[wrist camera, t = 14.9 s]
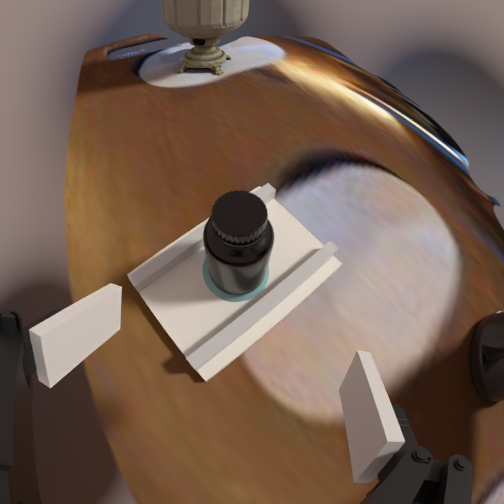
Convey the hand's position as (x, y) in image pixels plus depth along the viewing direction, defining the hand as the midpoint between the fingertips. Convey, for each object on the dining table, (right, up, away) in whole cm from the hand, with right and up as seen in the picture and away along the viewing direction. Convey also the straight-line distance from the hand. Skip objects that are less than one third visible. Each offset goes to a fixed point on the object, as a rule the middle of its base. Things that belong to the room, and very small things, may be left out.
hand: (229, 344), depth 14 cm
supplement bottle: (-1, +2, +20) cm, 21 cm away
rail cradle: (-1, +2, +22) cm, 22 cm away
